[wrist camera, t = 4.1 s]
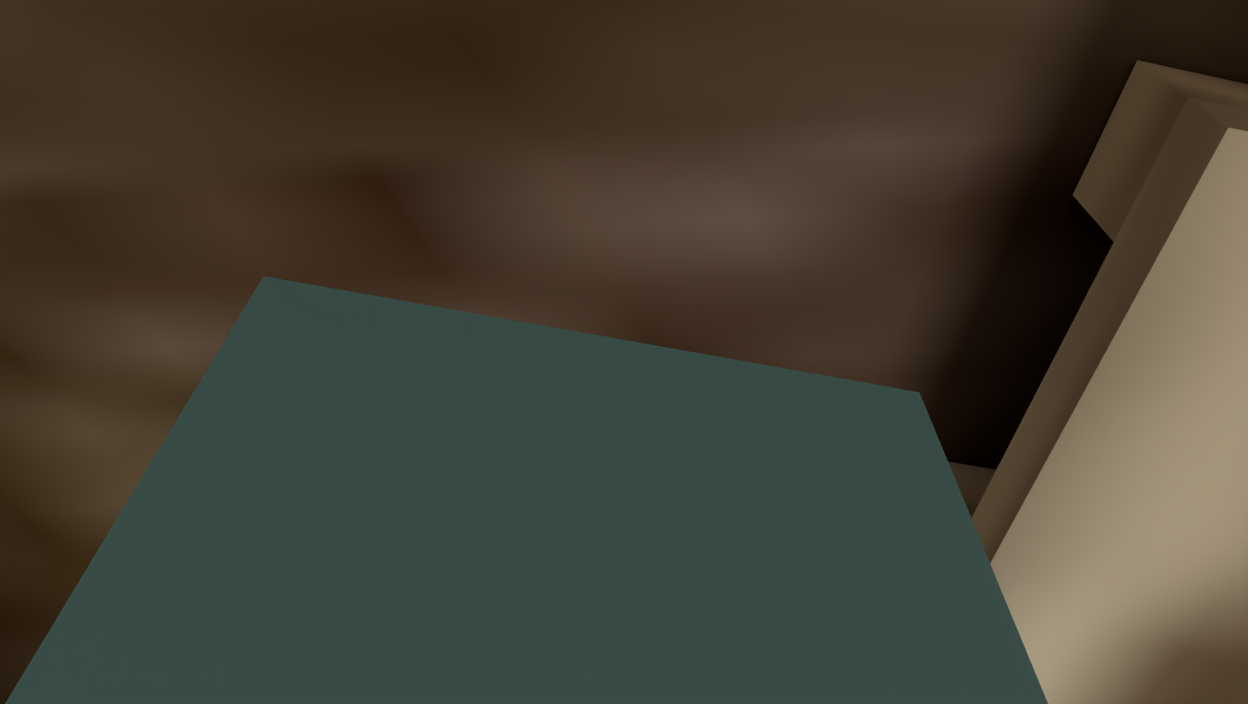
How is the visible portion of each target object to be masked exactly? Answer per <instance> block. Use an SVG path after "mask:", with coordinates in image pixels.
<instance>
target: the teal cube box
mask: <svg viewBox="0 0 1248 704" xmlns="http://www.w3.org/2000/svg"><path fill="white" fill-rule="evenodd" d="M5 704H1048V702H1047V700H1046V697H1045V695H1044V692H1043V690H1042V688H1041V685H1040V683H1039V680H1038V678H1037V676H1036V673H1035V671H1034V668H1033V666H1032V663H1031V661H1030V659H1029V656H1028V654H1027V651H1026V649H1025V647H1024V644H1023V642H1022V639H1021V637H1020V634H1019V632H1018V630H1017V627H1016V625H1015V622H1014V620H1013V618H1012V615H1011V613H1010V610H1009V608H1008V605H1007V603H1006V601H1005V598H1004V596H1003V593H1002V591H1001V589H1000V586H999V584H998V581H997V579H996V576H995V574H994V572H993V569H992V567H991V564H990V562H989V560H988V557H987V555H986V552H985V550H984V547H983V545H982V543H981V540H980V538H979V535H978V533H977V531H976V528H975V526H974V523H973V521H972V519H971V516H970V514H969V511H968V509H967V506H966V504H965V502H964V499H963V497H962V494H961V492H960V489H959V487H958V485H957V482H956V480H955V477H954V475H953V473H952V470H951V468H950V465H949V463H948V460H947V458H946V456H945V453H944V451H943V448H942V446H941V444H940V441H939V439H938V436H937V434H936V431H935V429H934V427H933V424H932V422H931V419H930V417H929V415H928V412H927V410H926V407H925V405H924V403H923V400H922V398H921V395H920V393H919V392H914V391H909V390H903V389H897V388H892V387H886V386H881V385H875V384H869V383H864V382H858V381H852V380H847V379H841V378H835V377H830V376H824V375H818V374H813V373H807V372H801V371H796V370H790V369H785V368H779V367H773V366H768V365H762V364H756V363H751V362H745V361H739V360H734V359H728V358H722V357H717V356H711V355H705V354H700V353H694V352H688V351H683V350H677V349H672V348H666V347H660V346H655V345H649V344H643V343H638V342H632V341H626V340H621V339H615V338H609V337H604V336H598V335H592V334H587V333H581V332H575V331H570V330H564V329H559V328H553V327H547V326H542V325H536V324H530V323H525V322H519V321H513V320H508V319H502V318H496V317H491V316H485V315H479V314H474V313H468V312H462V311H457V310H451V309H446V308H440V307H434V306H429V305H423V304H417V303H412V302H406V301H400V300H395V299H389V298H383V297H378V296H372V295H366V294H361V293H355V292H350V291H344V290H338V289H333V288H327V287H321V286H316V285H310V284H304V283H299V282H293V281H287V280H282V279H276V278H270V277H265V276H264V277H263V278H262V280H261V282H260V283H259V285H258V287H257V288H256V290H255V292H254V293H253V295H252V297H251V298H250V300H249V301H248V303H247V305H246V306H245V308H244V310H243V311H242V313H241V315H240V316H239V318H238V320H237V321H236V323H235V325H234V326H233V328H232V330H231V331H230V333H229V335H228V336H227V338H226V339H225V341H224V343H223V344H222V346H221V348H220V349H219V351H218V353H217V354H216V356H215V358H214V359H213V361H212V363H211V364H210V366H209V368H208V369H207V371H206V373H205V374H204V376H203V377H202V379H201V381H200V382H199V384H198V386H197V387H196V389H195V391H194V392H193V394H192V396H191V397H190V399H189V401H188V402H187V404H186V406H185V407H184V409H183V411H182V412H181V414H180V416H179V417H178V419H177V420H176V422H175V424H174V425H173V427H172V429H171V430H170V432H169V434H168V435H167V437H166V439H165V440H164V442H163V444H162V445H161V447H160V449H159V450H158V452H157V454H156V455H155V457H154V458H153V460H152V462H151V463H150V465H149V467H148V468H147V470H146V472H145V473H144V475H143V477H142V478H141V480H140V482H139V483H138V485H137V487H136V488H135V490H134V492H133V493H132V495H131V496H130V498H129V500H128V501H127V503H126V505H125V506H124V508H123V510H122V511H121V513H120V515H119V516H118V518H117V520H116V521H115V523H114V525H113V526H112V528H111V530H110V531H109V533H108V534H107V536H106V538H105V539H104V541H103V543H102V544H101V546H100V548H99V549H98V551H97V553H96V554H95V556H94V558H93V559H92V561H91V563H90V564H89V566H88V568H87V569H86V571H85V573H84V574H83V576H82V577H81V579H80V581H79V582H78V584H77V586H76V587H75V589H74V591H73V592H72V594H71V596H70V597H69V599H68V601H67V602H66V604H65V606H64V607H63V609H62V611H61V612H60V614H59V615H58V617H57V619H56V620H55V622H54V624H53V625H52V627H51V629H50V630H49V632H48V634H47V635H46V637H45V639H44V640H43V642H42V644H41V645H40V647H39V649H38V650H37V652H36V653H35V655H34V657H33V658H32V660H31V662H30V663H29V665H28V667H27V668H26V670H25V672H24V673H23V675H22V677H21V678H20V680H19V682H18V683H17V685H16V687H15V688H14V690H13V691H12V693H11V695H10V696H9V698H8V700H7V701H6V703H5Z"/></svg>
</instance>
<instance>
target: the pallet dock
mask: <svg viewBox="0 0 1248 704" xmlns="http://www.w3.org/2000/svg"><path fill="white" fill-rule="evenodd" d="M1073 196H1074V197H1075V198H1076V199H1077V201H1078V202H1079V203H1080V204H1081V205H1082V206H1083V207H1084V209H1085V210H1086V211H1087V212H1088V213H1089V214H1090V215H1091V217H1092V218H1093V219H1094V220H1095V221H1096V222H1097V223H1098V225H1099V226H1100V227H1101V228H1102V229H1103V230H1104V231H1105V233H1106V234H1107V235H1108V236H1109V237H1110V238H1111V239H1112V241H1113V242H1114V243H1113V245H1112V247H1111V249H1110V251H1109V252H1108V254H1107V256H1106V258H1105V260H1104V262H1103V264H1102V266H1101V268H1100V270H1099V272H1098V274H1097V276H1096V278H1095V280H1094V282H1093V284H1092V285H1091V287H1090V289H1089V291H1088V293H1087V295H1086V297H1085V299H1084V301H1083V303H1082V305H1081V307H1080V309H1079V311H1078V313H1077V315H1076V316H1075V318H1074V320H1073V322H1072V324H1071V326H1070V328H1069V330H1068V332H1067V334H1066V336H1065V338H1064V340H1063V342H1062V344H1061V346H1060V347H1059V349H1058V351H1057V353H1056V355H1055V357H1054V359H1053V361H1052V363H1051V365H1050V367H1049V369H1048V371H1047V373H1046V375H1045V377H1044V379H1043V380H1042V382H1041V384H1040V386H1039V388H1038V390H1037V392H1036V394H1035V396H1034V398H1033V400H1032V402H1031V404H1030V406H1029V408H1028V410H1027V411H1026V413H1025V415H1024V417H1023V419H1022V421H1021V423H1020V425H1019V427H1018V429H1017V431H1016V433H1015V435H1014V437H1013V439H1012V441H1011V442H1010V444H1009V446H1008V448H1007V450H1006V452H1005V454H1004V456H1003V458H1002V460H1001V462H1000V464H999V466H998V468H997V470H995V469H989V468H983V467H977V466H971V465H965V464H959V463H953V462H948V463H949V465H950V468H951V470H952V473H953V475H954V477H955V480H956V482H957V485H958V487H959V489H960V492H961V494H962V497H963V499H964V502H965V504H966V506H967V509H968V511H969V514H970V516H971V519H972V521H973V523H974V526H975V528H976V531H977V533H978V535H979V538H980V540H981V543H982V545H983V547H984V550H985V552H986V555H987V557H988V560H989V562H990V564H991V567H992V569H993V572H994V574H995V576H996V579H997V581H998V584H999V586H1000V589H1001V591H1002V593H1003V596H1004V598H1005V601H1006V603H1007V605H1008V608H1009V610H1010V613H1011V615H1012V618H1013V620H1014V622H1015V625H1016V627H1017V630H1018V632H1019V634H1020V637H1021V639H1022V642H1023V644H1024V647H1025V649H1026V651H1027V654H1028V656H1029V659H1030V661H1031V663H1032V666H1033V668H1034V671H1035V673H1036V676H1037V678H1038V680H1039V683H1040V685H1041V688H1042V690H1043V692H1044V695H1045V697H1046V700H1047V702H1048V704H1248V84H1244V83H1240V82H1235V81H1231V80H1226V79H1221V78H1217V77H1212V76H1208V75H1203V74H1199V73H1194V72H1189V71H1185V70H1180V69H1176V68H1171V67H1166V66H1162V65H1157V64H1153V63H1148V62H1144V61H1139V60H1137V62H1136V64H1135V66H1134V68H1133V70H1132V72H1131V74H1130V76H1129V78H1128V80H1127V82H1126V85H1125V87H1124V89H1123V91H1122V93H1121V95H1120V97H1119V99H1118V101H1117V103H1116V105H1115V108H1114V110H1113V112H1112V114H1111V116H1110V118H1109V120H1108V122H1107V124H1106V126H1105V128H1104V131H1103V133H1102V135H1101V137H1100V139H1099V141H1098V143H1097V145H1096V147H1095V149H1094V151H1093V154H1092V156H1091V158H1090V160H1089V162H1088V164H1087V166H1086V168H1085V170H1084V172H1083V174H1082V176H1081V179H1080V181H1079V183H1078V185H1077V187H1076V189H1075V191H1074V193H1073Z"/></svg>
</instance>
